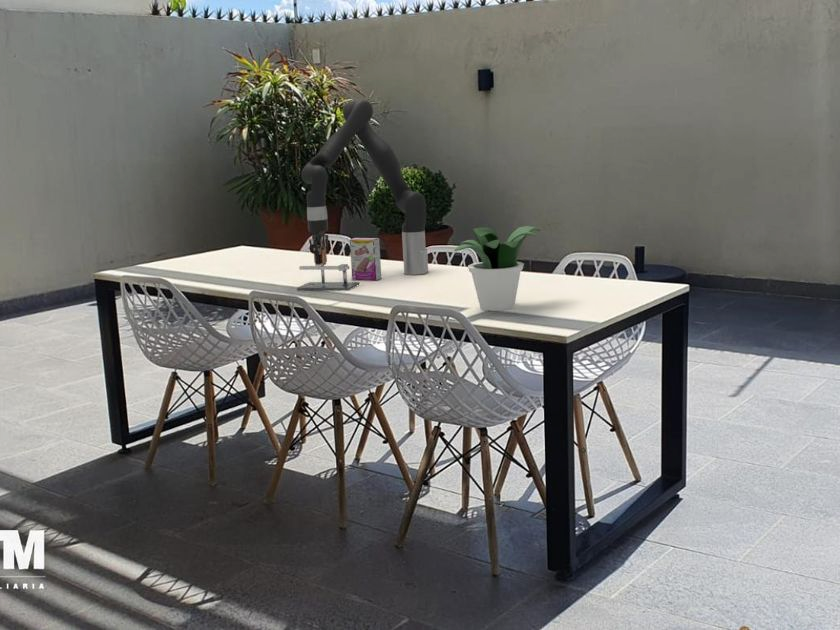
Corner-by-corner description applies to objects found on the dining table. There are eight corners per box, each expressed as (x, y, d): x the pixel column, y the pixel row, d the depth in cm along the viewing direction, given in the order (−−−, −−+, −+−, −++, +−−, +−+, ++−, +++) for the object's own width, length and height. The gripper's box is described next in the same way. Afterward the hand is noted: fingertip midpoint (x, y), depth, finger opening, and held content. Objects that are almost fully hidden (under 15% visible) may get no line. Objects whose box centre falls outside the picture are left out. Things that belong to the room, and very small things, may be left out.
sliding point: (328, 283, 378) (326, 248, 375) (325, 284, 374) (322, 250, 372) (319, 283, 379) (316, 248, 376) (315, 284, 376) (313, 250, 373)
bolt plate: (359, 284, 380) (358, 261, 378) (348, 290, 369) (346, 266, 367) (309, 284, 386) (308, 262, 384) (297, 290, 375) (295, 267, 373)
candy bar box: (351, 280, 392) (348, 239, 388) (357, 278, 396) (354, 237, 393) (376, 280, 387) (373, 239, 384) (382, 278, 391) (379, 237, 388)
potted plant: (573, 303, 322) (572, 226, 317) (491, 321, 303) (488, 239, 298) (510, 292, 348) (508, 220, 343) (431, 307, 328) (427, 231, 323)
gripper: (319, 220, 364) (322, 266, 367) (333, 216, 377) (336, 260, 380) (300, 220, 366) (304, 266, 370) (315, 216, 379) (318, 260, 383)
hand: (320, 263), depth 375 cm, fingers closed on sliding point, 3 cm apart
